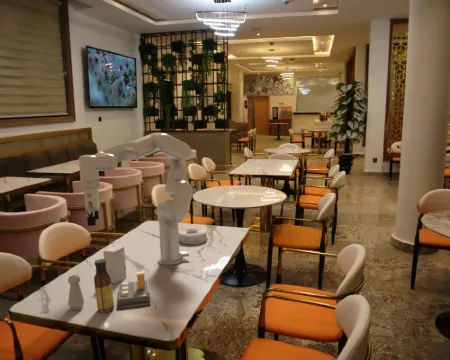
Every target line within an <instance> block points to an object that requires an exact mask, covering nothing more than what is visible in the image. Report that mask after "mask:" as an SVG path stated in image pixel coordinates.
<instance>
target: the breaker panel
mask: <svg viewBox="0 0 450 360" xmlns="http://www.w3.org/2000/svg"><path fill="white" fill-rule="evenodd" d="M149 283H150V282H149V280H147V279H145V288H144V289H138V280H137V281H136V280H135V281H128V282H121V283H120V282H119V289H118V305H124V304H132V303H140V302H148V301H150V302H151V296H150V295H151V294H150V285H149Z"/></svg>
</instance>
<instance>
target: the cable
mask: <svg viewBox="0 0 450 360" xmlns="http://www.w3.org/2000/svg"><path fill="white" fill-rule="evenodd" d="M207 240H208V235H207V231H206V229H204V228H201V227H200V228H199V227H184V228H180V229H179V243H182V244H185V245H199V244H202V243H205V242H207Z"/></svg>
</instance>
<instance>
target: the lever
mask: <svg viewBox="0 0 450 360" xmlns="http://www.w3.org/2000/svg"><path fill="white" fill-rule="evenodd" d="M136 276H137V281H138V289H144V288H145V280H146V279H145V271H144V270H143V271H137V272H136Z"/></svg>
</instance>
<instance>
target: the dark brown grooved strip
mask: <svg viewBox="0 0 450 360" xmlns="http://www.w3.org/2000/svg"><path fill="white" fill-rule="evenodd" d="M148 306H149V307H150V306H151V300H150V301H148V302H140V303H132V304H124V305H119V304H118V305H117V310H125V309H133V308H140V307H148Z"/></svg>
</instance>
